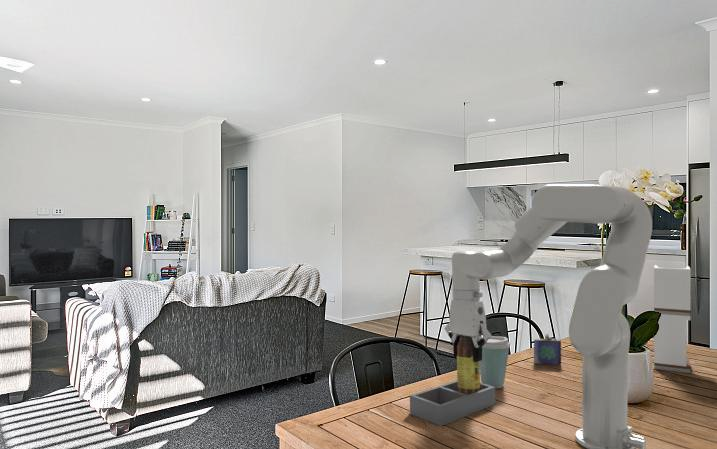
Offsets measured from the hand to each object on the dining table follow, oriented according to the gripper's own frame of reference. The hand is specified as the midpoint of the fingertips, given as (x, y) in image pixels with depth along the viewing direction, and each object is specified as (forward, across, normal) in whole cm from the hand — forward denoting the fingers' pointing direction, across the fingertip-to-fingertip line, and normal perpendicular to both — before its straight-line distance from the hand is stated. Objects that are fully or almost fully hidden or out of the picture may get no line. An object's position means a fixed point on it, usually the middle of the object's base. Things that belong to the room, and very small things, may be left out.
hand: (467, 358), depth 146 cm
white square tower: (+14, -23, -83) cm, 88 cm away
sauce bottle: (+10, 0, 0) cm, 10 cm away
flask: (+14, +7, -53) cm, 56 cm away
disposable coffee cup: (+13, +6, -19) cm, 24 cm away
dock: (+13, +1, +6) cm, 14 cm away
